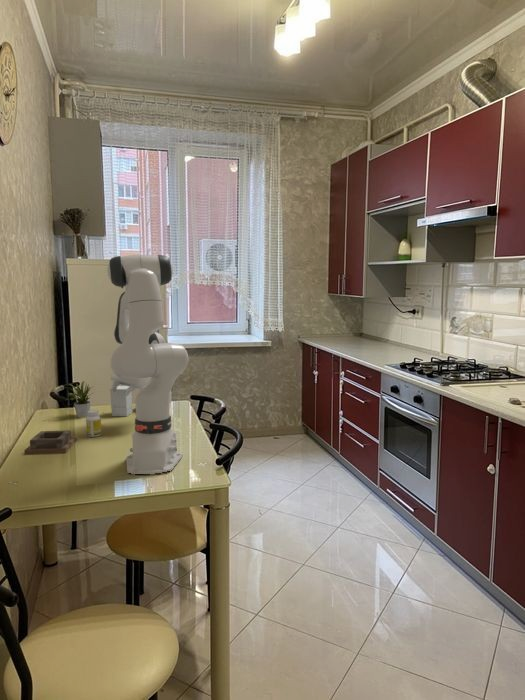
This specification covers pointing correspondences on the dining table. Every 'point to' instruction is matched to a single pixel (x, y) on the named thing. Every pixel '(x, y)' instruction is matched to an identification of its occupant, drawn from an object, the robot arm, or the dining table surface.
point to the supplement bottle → (93, 424)
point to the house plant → (81, 400)
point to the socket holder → (51, 442)
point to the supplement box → (121, 402)
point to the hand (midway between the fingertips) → (118, 393)
